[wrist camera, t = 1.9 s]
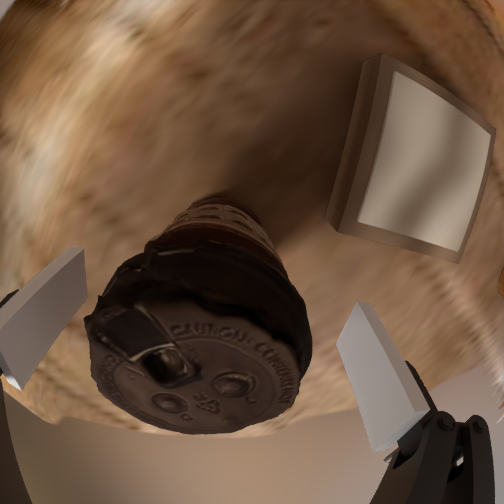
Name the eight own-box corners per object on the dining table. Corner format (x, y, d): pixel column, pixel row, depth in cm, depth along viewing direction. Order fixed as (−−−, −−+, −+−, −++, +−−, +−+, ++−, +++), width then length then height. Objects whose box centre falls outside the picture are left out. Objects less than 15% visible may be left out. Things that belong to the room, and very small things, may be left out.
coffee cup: (166, 168, 17) (40, 240, 5) (288, 186, 18) (374, 290, 6) (159, 281, 21) (98, 424, 9) (264, 296, 21) (284, 452, 9)
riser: (324, 217, 19) (338, 233, 16) (362, 62, 14) (383, 51, 11) (439, 249, 20) (459, 265, 17) (473, 126, 16) (498, 129, 13)
